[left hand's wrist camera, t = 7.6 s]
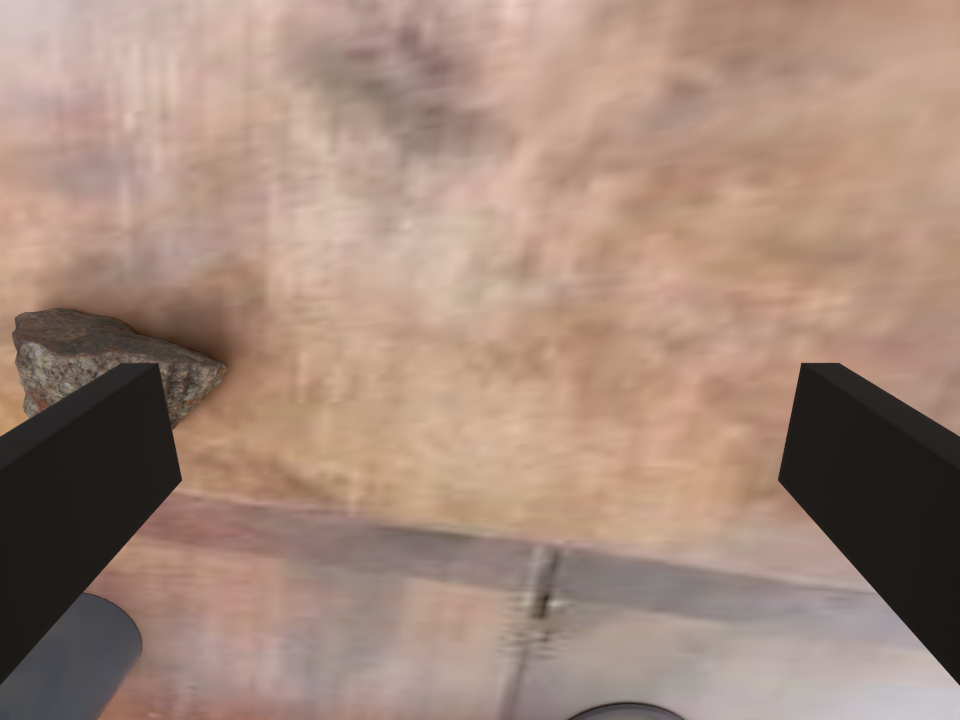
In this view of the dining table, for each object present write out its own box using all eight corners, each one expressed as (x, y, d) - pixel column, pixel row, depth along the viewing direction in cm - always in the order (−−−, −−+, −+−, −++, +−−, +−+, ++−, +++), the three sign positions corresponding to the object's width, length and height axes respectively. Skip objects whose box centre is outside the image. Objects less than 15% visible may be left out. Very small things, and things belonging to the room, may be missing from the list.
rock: (43, 263, 40) (31, 391, 43) (-80, 289, 32) (-84, 444, 35) (247, 335, 41) (220, 456, 44) (177, 378, 32) (150, 523, 36)
